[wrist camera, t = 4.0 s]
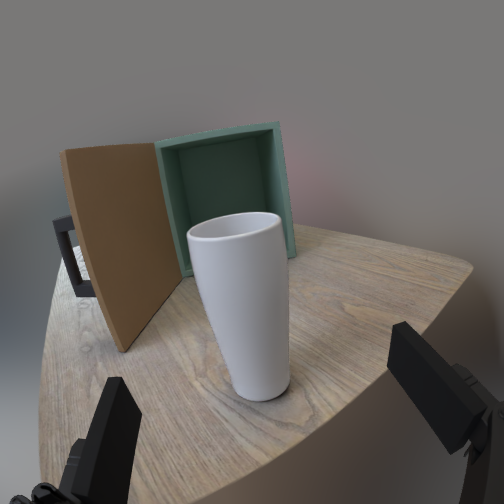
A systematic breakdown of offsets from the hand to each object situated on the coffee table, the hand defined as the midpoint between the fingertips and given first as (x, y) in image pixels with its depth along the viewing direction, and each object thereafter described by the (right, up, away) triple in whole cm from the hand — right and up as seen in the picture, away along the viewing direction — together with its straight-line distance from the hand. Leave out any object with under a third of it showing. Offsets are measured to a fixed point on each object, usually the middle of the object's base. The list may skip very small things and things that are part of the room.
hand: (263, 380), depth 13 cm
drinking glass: (0, -6, +13) cm, 14 cm away
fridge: (-4, +7, +52) cm, 52 cm away
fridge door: (-17, -3, +30) cm, 35 cm away
